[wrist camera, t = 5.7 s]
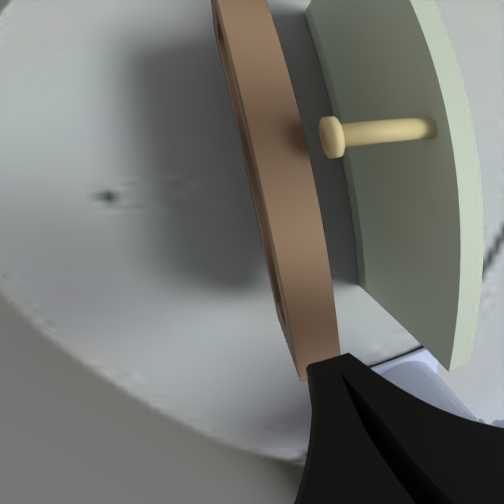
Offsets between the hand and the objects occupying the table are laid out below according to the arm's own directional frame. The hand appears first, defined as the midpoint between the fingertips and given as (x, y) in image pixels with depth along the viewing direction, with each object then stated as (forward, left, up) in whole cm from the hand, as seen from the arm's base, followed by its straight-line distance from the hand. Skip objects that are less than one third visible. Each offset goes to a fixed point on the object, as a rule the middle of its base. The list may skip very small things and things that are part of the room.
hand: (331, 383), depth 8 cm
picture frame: (+7, 0, -8) cm, 10 cm away
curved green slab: (+7, -6, -10) cm, 14 cm away
